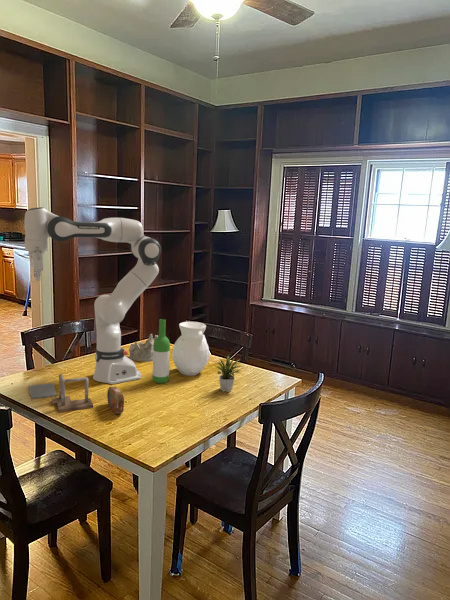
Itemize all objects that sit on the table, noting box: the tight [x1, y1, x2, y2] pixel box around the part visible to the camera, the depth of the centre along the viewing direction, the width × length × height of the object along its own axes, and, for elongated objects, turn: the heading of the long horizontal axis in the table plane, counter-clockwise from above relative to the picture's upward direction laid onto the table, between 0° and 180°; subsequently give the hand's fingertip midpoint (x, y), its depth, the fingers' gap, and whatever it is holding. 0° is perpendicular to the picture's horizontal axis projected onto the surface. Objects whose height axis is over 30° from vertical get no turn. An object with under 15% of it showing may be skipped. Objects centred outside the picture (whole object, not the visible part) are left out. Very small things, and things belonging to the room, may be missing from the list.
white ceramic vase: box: [171, 321, 210, 376], centre depth 226 cm, size 19×18×25 cm
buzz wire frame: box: [51, 373, 94, 413], centre depth 183 cm, size 14×12×12 cm
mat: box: [28, 382, 58, 400], centre depth 195 cm, size 10×14×1 cm
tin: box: [107, 386, 125, 415], centre depth 181 cm, size 15×3×8 cm, turn 30°
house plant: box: [214, 355, 244, 393], centre depth 205 cm, size 14×14×16 cm
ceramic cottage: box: [128, 333, 159, 363], centre depth 247 cm, size 16×16×15 cm
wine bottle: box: [152, 318, 171, 384], centre depth 212 cm, size 8×8×30 cm
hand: (37, 278), depth 192 cm, fingers open, 8 cm apart
